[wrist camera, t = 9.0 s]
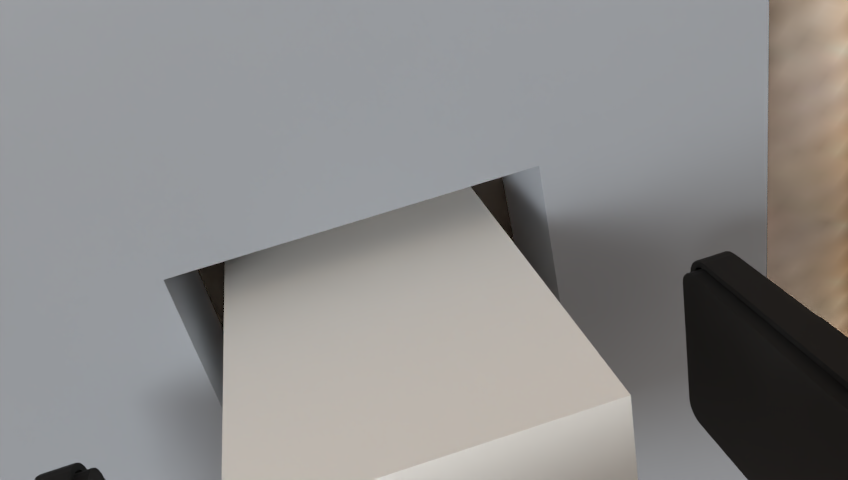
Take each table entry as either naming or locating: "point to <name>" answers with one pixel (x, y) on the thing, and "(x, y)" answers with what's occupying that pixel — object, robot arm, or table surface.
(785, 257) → the table surface
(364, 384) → the charger block
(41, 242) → the grey peg hole board
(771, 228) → the table surface
